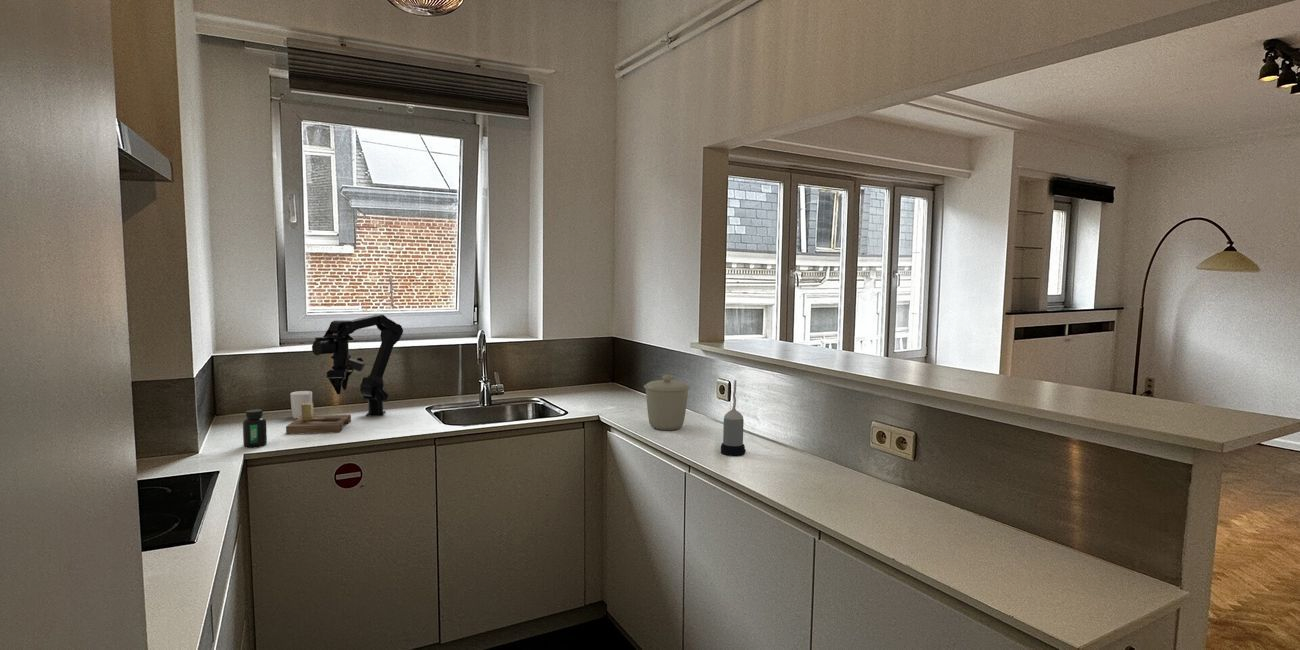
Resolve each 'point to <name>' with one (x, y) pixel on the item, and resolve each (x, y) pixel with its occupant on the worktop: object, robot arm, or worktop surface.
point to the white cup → (299, 401)
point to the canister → (666, 403)
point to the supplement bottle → (254, 429)
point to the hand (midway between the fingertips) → (341, 391)
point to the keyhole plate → (319, 424)
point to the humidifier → (733, 431)
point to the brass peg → (307, 412)
